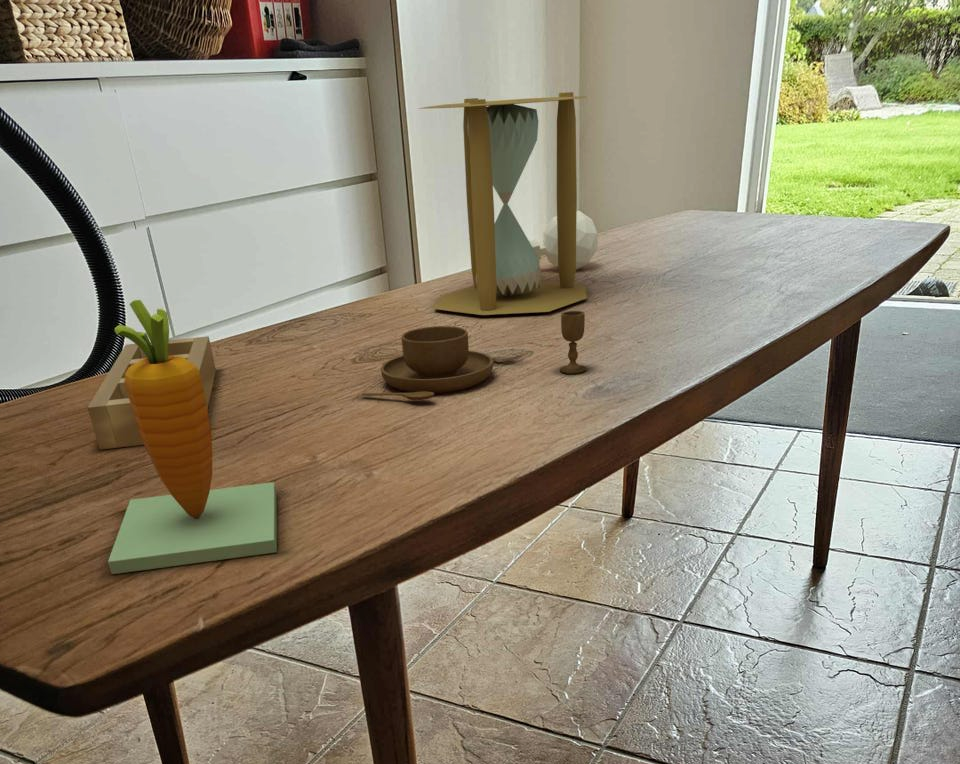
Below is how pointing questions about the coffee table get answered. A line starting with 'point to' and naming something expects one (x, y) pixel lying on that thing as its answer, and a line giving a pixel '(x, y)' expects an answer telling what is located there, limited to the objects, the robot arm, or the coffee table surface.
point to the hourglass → (503, 245)
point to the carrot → (170, 412)
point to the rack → (113, 401)
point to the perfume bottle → (584, 241)
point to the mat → (196, 529)
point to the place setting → (456, 359)
